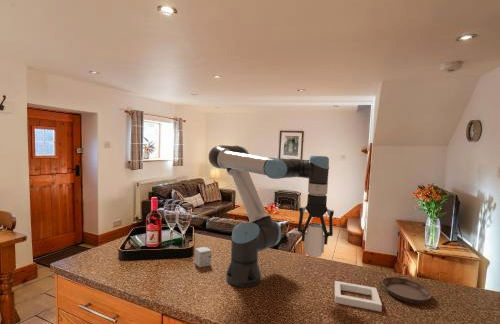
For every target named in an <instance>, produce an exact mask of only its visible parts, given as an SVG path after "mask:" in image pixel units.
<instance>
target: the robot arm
mask: <svg viewBox="0 0 500 324" xmlns="http://www.w3.org/2000/svg"><path fill="white" fill-rule="evenodd" d="M208 161H209V163H210V165H211V166H212V167H213V168H215V169H216V168H217V169H223V170H226V172H227V174H228V175H229V176H231V177H232V180H233V183H234V185H235V186H236V190H237V192H238V194H239V197H240V199H241V201H242V202H241V203H242V205H243V207H244V211H245V213H246V215H247V217H248V220H249V221H248V222H241V223H238V224H236V225H234V227H233V228H232V234H231V249H230V251H231V252H230V262H229V265H228V268H227V270H226V272H225V275H226V276H225V280H226V282H227V283H228V284H229V285H232V286H235V287H237V288H250V287H251V288H252V287H254V286H257V285H259V284H260V283H261V281H262V273H261V269H260V265H259V252H262V251H264V250H266V249H269V248H272V247H274V246H276V245H277V244H279V242H280V241H281V238H282V229H281V225H280V224H279V223H278V222H277V221H275V220H273V219H272V217H271V215H270V214H268V213H266V210H265V208H264V205H263V203H262V200H261V198H260V196H259V193H258V191H257V188H256V186H255V184H254V181H253V179H252V177H251V173H254V174H258V175H262V176H267V177H268V178H270V179H272V180H273V179H274V180H280V179H286V178H287V179H288V178H304V179H305V178H306V179H308V184H307V185H308V187H307V193H308V194H307V201H306V205H305V206H300V207H299V209H298V211H299V219H298V226H297V232H298V233H301V242H303V251H306V239H307V227H308V225H309V223H311V220H312V218H317V219H319V220H320V224H321V225H322V228H323V240H322V254H324V253H325V245H328V239H329V237H332V236H333V234H334V233H333V229H334V227H333V217H334V215H335V214H334V209H332V210H331V209H329V208H328V207H327V204H328V203H327V199H328V196H327V195H328V184H329V173H330V172H329V170H330V158H329V157H328V156H326V155H310V157H309V159H299V158H286V159H285V158H277V157H276V158H275V157H270V156H263V155H256V154H251V153H249V150H247V149H246V148H245V147H243V146H239V145H222V144H220V145H216V146H215V145H214V147H212V148H211V149H210V151H209V153H208ZM305 211H307V213H308V217H307V220H306V221H305V223H304V226H303V221H304V220H303V219H304V213H305ZM326 213H327V216H328V225H329V227H328V228H329V229H327V225H326V222H325V218H324V215H326ZM302 227H303V228H302ZM328 230H329V231H328Z"/></svg>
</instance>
